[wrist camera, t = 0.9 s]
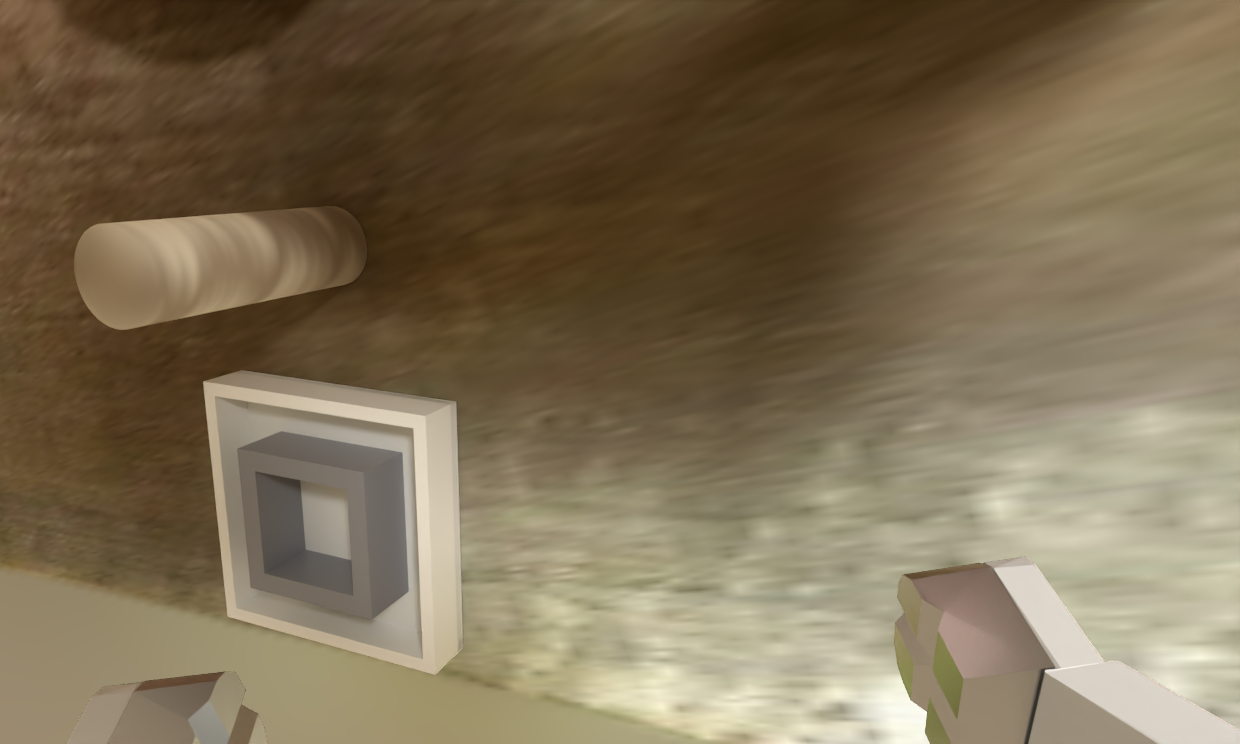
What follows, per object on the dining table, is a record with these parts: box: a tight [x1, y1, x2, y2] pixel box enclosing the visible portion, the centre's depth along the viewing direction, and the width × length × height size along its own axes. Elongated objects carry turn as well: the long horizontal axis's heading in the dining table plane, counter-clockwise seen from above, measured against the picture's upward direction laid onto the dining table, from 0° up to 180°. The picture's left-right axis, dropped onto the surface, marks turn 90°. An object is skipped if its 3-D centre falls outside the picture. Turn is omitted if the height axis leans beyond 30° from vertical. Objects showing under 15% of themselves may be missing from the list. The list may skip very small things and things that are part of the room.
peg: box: [74, 206, 367, 330], centre depth 43 cm, size 4×4×14 cm
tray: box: [203, 370, 463, 675], centre depth 51 cm, size 16×16×4 cm
